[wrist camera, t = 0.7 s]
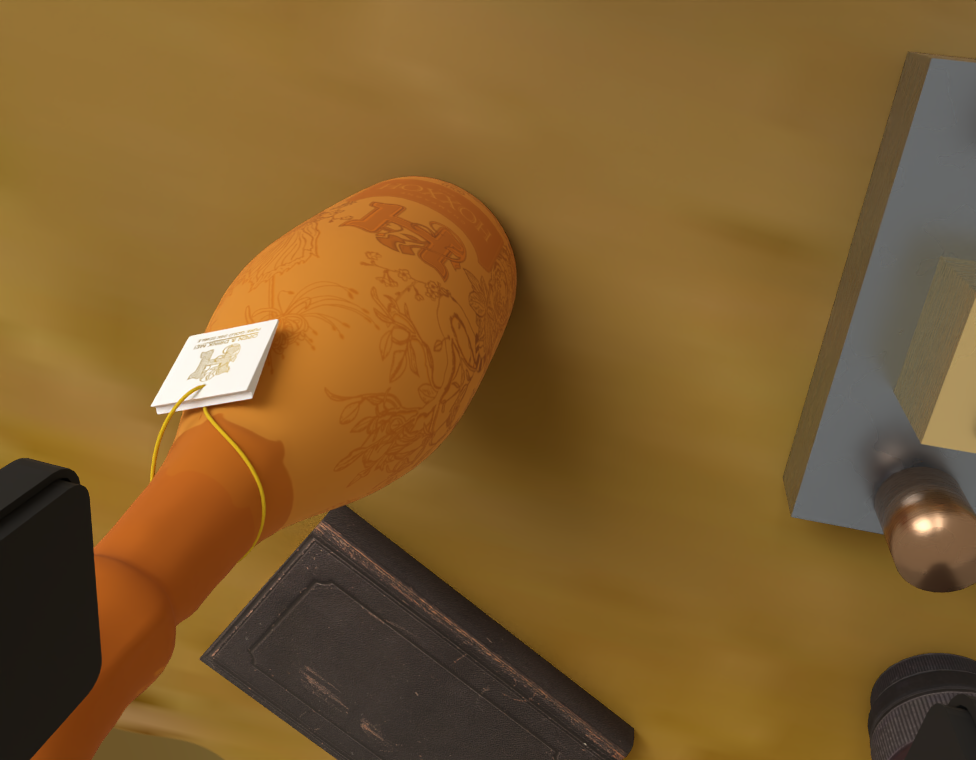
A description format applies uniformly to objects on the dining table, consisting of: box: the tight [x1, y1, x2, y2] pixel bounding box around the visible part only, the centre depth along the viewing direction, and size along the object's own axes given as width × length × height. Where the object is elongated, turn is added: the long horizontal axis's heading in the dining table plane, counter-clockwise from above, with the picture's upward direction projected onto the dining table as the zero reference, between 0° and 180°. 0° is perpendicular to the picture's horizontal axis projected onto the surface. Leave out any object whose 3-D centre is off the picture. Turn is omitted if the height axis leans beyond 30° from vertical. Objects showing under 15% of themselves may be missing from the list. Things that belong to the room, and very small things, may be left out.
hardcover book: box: [200, 505, 634, 760], centre depth 52 cm, size 16×23×2 cm
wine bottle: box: [30, 176, 517, 760], centre depth 28 cm, size 10×10×30 cm
